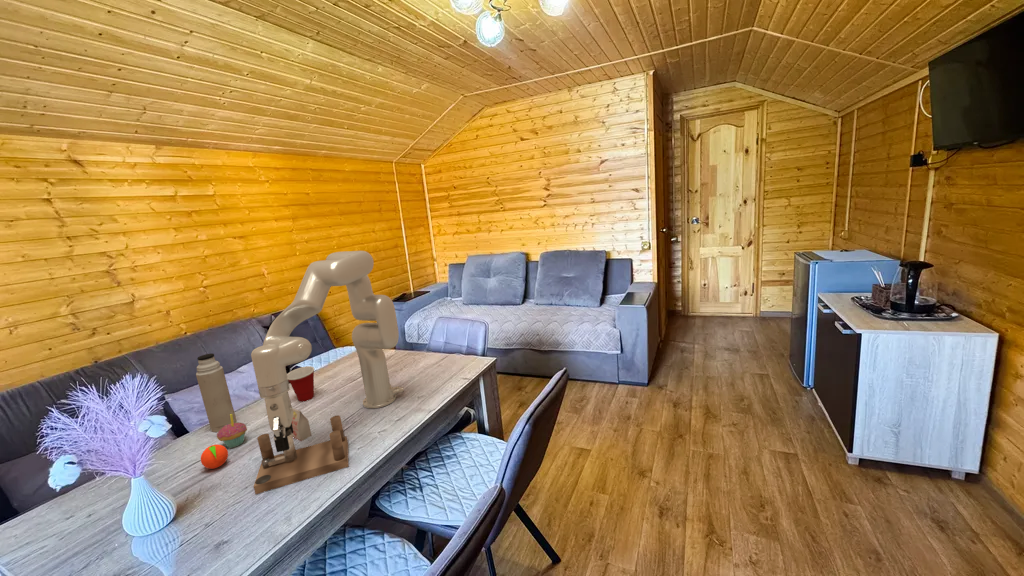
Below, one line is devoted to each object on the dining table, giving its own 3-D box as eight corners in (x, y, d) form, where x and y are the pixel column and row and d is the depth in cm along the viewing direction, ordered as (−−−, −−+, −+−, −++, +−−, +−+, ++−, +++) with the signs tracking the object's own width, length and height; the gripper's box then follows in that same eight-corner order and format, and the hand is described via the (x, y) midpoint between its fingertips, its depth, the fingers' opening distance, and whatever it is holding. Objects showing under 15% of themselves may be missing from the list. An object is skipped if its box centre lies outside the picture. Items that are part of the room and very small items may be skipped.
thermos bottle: (206, 433, 150) (186, 361, 144) (219, 422, 158) (200, 352, 152) (229, 430, 151) (209, 358, 145) (241, 419, 158) (223, 350, 153)
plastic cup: (285, 403, 168) (278, 376, 166) (306, 391, 178) (301, 365, 175) (304, 406, 164) (298, 378, 161) (325, 393, 174) (320, 367, 171)
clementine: (233, 466, 128) (227, 445, 127) (206, 478, 123) (200, 456, 122) (228, 456, 134) (222, 436, 132) (201, 467, 129) (196, 447, 128)
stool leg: (261, 469, 120) (254, 441, 118) (263, 463, 123) (256, 436, 121) (296, 459, 123) (290, 432, 121) (297, 454, 126) (291, 427, 124)
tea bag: (301, 431, 145) (295, 404, 143) (311, 435, 142) (305, 408, 139) (290, 436, 142) (284, 409, 140) (301, 441, 139) (295, 414, 137)
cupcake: (255, 438, 144) (247, 406, 141) (232, 452, 136) (223, 419, 133) (237, 435, 146) (229, 404, 144) (214, 449, 139) (205, 417, 136)
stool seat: (348, 442, 135) (342, 413, 133) (348, 466, 122) (341, 434, 120) (264, 466, 127) (256, 435, 124) (255, 494, 114) (246, 460, 112)
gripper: (284, 396, 112) (296, 453, 115) (292, 374, 128) (302, 425, 131) (253, 403, 110) (266, 461, 113) (264, 380, 125) (275, 431, 129)
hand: (285, 442), depth 122 cm, fingers open, 9 cm apart
